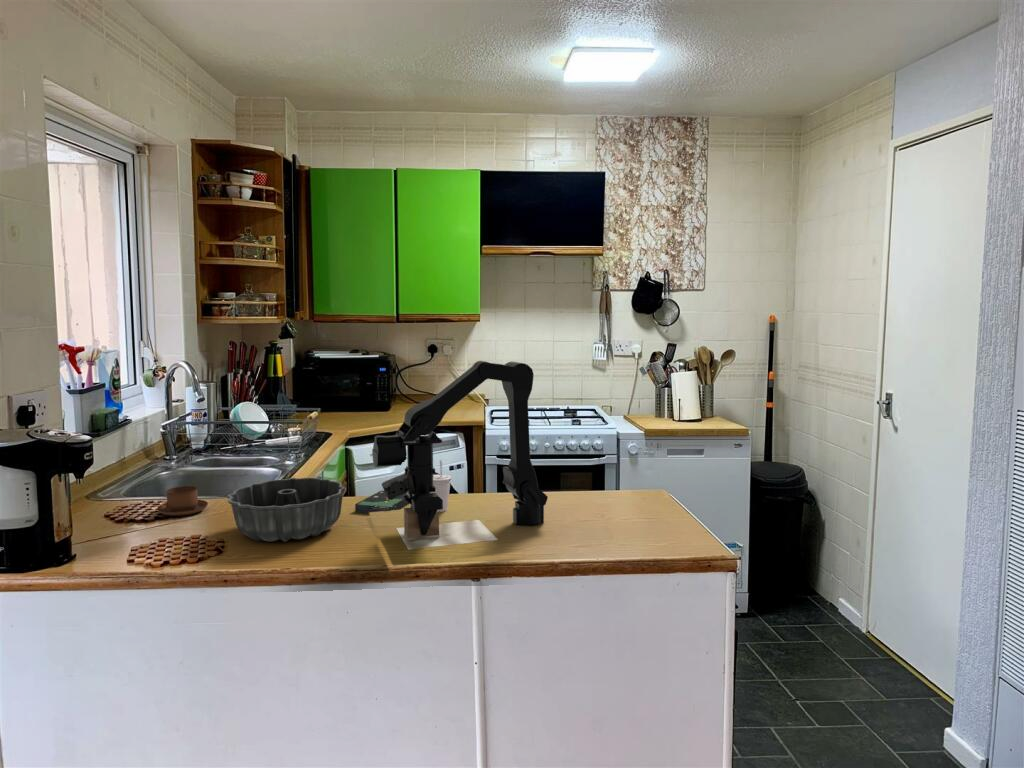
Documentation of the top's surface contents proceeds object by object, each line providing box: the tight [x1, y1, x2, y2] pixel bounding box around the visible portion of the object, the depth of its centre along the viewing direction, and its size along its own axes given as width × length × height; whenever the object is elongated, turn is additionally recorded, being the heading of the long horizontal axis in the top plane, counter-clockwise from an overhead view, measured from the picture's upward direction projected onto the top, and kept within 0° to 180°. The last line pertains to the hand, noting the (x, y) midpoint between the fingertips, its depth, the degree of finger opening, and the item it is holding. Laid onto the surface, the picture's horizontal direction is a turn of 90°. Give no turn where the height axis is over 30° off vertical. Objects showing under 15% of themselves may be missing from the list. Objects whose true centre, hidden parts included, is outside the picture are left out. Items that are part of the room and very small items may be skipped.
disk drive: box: [354, 490, 411, 514], centre depth 196 cm, size 10×3×15 cm
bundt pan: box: [227, 477, 346, 543], centre depth 175 cm, size 26×26×10 cm
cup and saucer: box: [156, 485, 209, 517], centre depth 192 cm, size 12×12×6 cm
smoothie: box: [430, 459, 453, 513], centre depth 188 cm, size 6×6×14 cm
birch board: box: [396, 519, 498, 551], centre depth 169 cm, size 20×16×1 cm
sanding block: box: [403, 507, 440, 541], centre depth 167 cm, size 7×5×6 cm
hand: (421, 531), depth 167 cm, fingers closed on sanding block, 5 cm apart
